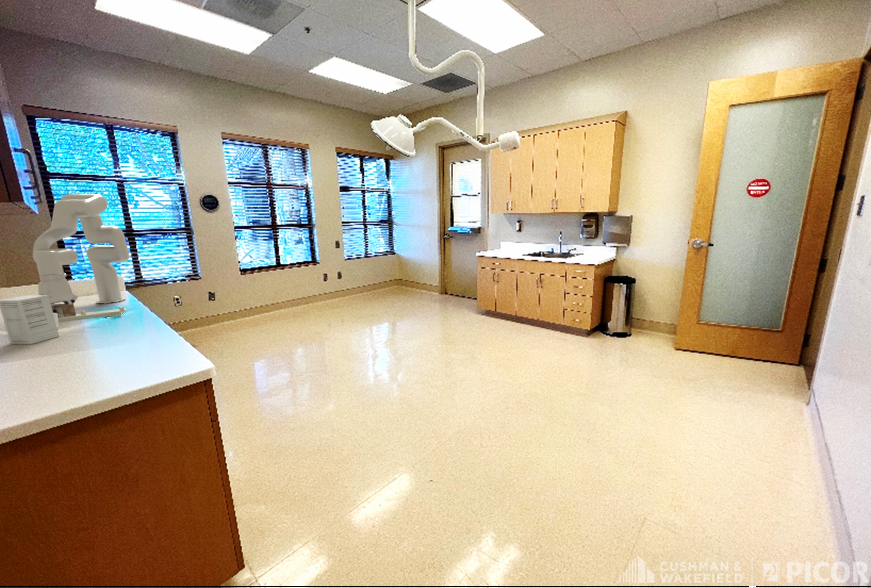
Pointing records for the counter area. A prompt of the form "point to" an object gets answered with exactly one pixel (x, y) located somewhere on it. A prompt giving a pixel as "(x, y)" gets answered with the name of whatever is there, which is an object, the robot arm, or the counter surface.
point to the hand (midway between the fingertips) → (61, 316)
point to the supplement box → (28, 319)
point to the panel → (94, 314)
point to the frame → (65, 310)
